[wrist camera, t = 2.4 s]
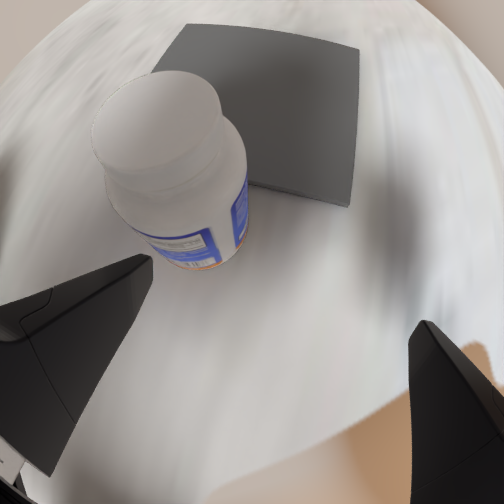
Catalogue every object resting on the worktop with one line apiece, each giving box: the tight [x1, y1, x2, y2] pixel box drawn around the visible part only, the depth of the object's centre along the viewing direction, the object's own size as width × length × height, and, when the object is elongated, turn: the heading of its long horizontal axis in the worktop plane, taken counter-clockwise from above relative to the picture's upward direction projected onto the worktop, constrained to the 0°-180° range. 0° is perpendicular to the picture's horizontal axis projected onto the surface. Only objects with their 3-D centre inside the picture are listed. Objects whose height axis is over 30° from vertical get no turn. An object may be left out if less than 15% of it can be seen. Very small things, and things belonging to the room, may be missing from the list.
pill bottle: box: [91, 70, 248, 270], centre depth 12 cm, size 5×5×10 cm
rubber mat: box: [150, 24, 359, 207], centre depth 20 cm, size 16×16×1 cm
